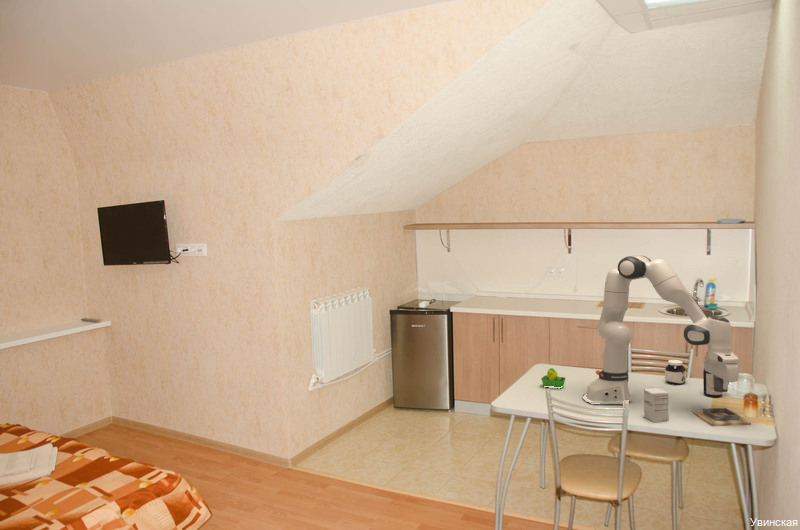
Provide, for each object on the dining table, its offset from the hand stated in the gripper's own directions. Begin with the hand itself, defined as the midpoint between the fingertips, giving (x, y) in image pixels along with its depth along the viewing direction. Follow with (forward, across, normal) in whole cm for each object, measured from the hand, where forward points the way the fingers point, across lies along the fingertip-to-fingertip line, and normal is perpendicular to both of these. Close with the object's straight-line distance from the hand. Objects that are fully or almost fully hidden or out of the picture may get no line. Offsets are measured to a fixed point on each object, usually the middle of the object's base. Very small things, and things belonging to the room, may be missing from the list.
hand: (720, 386), depth 237 cm
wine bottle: (+14, -32, +14) cm, 38 cm away
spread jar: (+14, -57, +7) cm, 59 cm away
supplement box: (+14, -3, -26) cm, 30 cm away
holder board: (+14, 0, 0) cm, 14 cm away
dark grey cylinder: (+2, 0, 0) cm, 2 cm away
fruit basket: (+14, -56, -57) cm, 81 cm away
